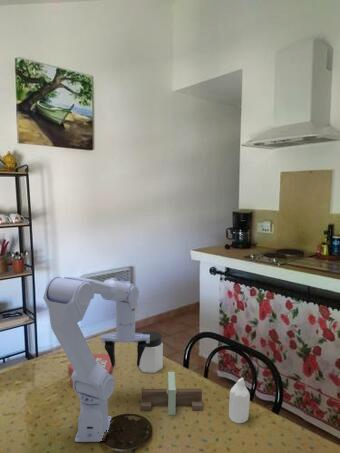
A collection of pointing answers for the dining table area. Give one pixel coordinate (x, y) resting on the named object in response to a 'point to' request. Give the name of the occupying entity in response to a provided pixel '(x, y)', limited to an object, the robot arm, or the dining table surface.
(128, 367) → the dining table surface
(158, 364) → the jar
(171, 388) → the slotted plate
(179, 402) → the walnut stand
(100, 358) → the plaque
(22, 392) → the dining table surface
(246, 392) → the bottle
